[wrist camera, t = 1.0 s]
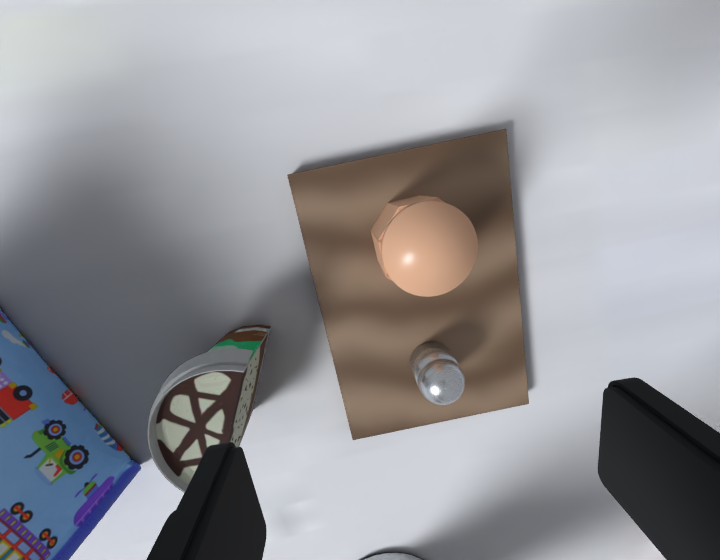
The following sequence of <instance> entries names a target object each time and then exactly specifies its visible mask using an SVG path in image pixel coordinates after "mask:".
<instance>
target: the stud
mask: <svg viewBox="0 0 720 560" xmlns="http://www.w3.org/2000/svg"><path fill="white" fill-rule="evenodd" d="M410 366H411V369H412V372H413V374H414V377H415V380H416V382H417V385H418V387H419V390H420V392H421V393H422V395H423V396H424V397H425V398H426V399H427V400H429V401H430V402H432V403H434V404H438V405H447V404H451V403H453V402H455V401H456V400H457V399H459V397H460V396H461V395H462V393H463V391H464V388H465V376H464V373H463V370H462V369H461V367H460V366H459V364H458V363H457V361H456V359H455V358H454V356H453V355H452V353H451V352H450V350H449V349H448V348H447V346H445V345H444V344H443V343H440V342H437V341H427V342H424V343H422V344H420V345H418V346H417V347H416V348H415V349H414V350H413V352H412V354H411V357H410Z"/></svg>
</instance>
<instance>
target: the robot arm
mask: <svg viewBox="0 0 720 560" xmlns="http://www.w3.org/2000/svg"><path fill="white" fill-rule="evenodd" d="M598 474H599V477H600V479H601V481H602V483H603V485H604V486H605V487H606V488H607V490H608V491H609V492H610V493H611V494H612V496H613V497H614V498H615V499H616V500H617V501H618V503H619V504H620V505H621V506H622V507H623V509H624V510H625V511H626V512H627V513H628V514H629V516H630V517H631V518H632V519H633V520H634V522H635V523H636V524H637V525H638V526H639V528H640V529H641V530H642V531H643V532H644V533H645V535H646V536H647V537H648V538H649V539H650V541H651V542H652V543H653V544H654V545H655V546H656V548H657V549H658V550H659V551H660V552H661V554H662V555H663V556H664V557H665V558H666V559H667V560H720V433H719V432H717V431H716V430H714V429H713V428H711V427H710V426H708V425H707V424H705V423H704V422H702V421H701V420H700V419H698V418H697V417H695V416H694V415H692V414H691V413H689V412H688V411H686V410H685V409H683V408H682V407H681V406H679V405H678V404H676V403H675V402H673V401H672V400H670V399H669V398H667V397H666V396H664V395H663V394H662V393H660V392H659V391H657V390H656V389H654V388H653V387H651V386H650V385H648V384H647V383H645V382H644V381H643V380H641V379H639V378H628V379H622V380H616V381H612V382H610V383H609V385H608V388H606V389H605V390H604V392H603V404H602V418H601V432H600V446H599V460H598ZM265 542H266V524H265V520H264V517H263V514H262V510H261V507H260V504H259V501H258V497H257V494H256V491H255V488H254V484H253V481H252V478H251V475H250V471H249V468H248V465H247V462H246V458H245V455H244V452H243V449H242V448H241V447H236V446H235V444H234V443H233V442H228V443H222V444H216V445H210V446H209V447H207V449H206V451H205V453H204V455H203V457H202V459H201V461H200V463H199V465H198V467H197V469H196V471H195V473H194V475H193V477H192V479H191V481H190V483H189V485H188V487H187V489H186V491H185V493H184V495H183V497H182V499H181V501H180V503H179V505H178V507H177V510H175V511H174V512H173V513H172V514H170V516H169V517H168V519H167V520H166V522H165V524H164V526H163V528H162V530H161V532H160V534H159V536H158V538H157V540H156V542H155V544H154V546H153V548H152V550H151V552H150V554H149V556H148V558H147V560H262V557H263V552H264V547H265ZM364 560H422V559H420V558H417V557H415V556H412V555H408V554H404V553H383V554H379V555H374V556H371V557H369V558H366V559H364Z"/></svg>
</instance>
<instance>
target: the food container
mask: <svg viewBox="0 0 720 560" xmlns="http://www.w3.org/2000/svg"><path fill="white" fill-rule="evenodd" d="M270 329H271V326H264V325H253V326H244V327H241V328H238V329H236V330H234V331H231V332H229V333H228V334H226V335H225V336H224V337H223V338H222V339H221V340H220V341H219V342H218V343H217V344H216V345H214V346H213V347H212V348H211V349H210V350H209V351H208V352H206V353H203V354H200V355H197V356H195V357H193V358H191V359H189V360H187V361H186V362H184V363H183V364H181V365H180V366H179V367H177V368H176V369H175V370H174V371H173V372H172V373H171V374H170V375H169V376H168V377H167V379H166V380H165V382H164V383H163V385H162V386H161V388H160V391H159V393H158V395H157V397H156V399H155V401H154V404H153V406H152V408H151V411H150V416H149V421H148V435H147V438H148V445H149V450H150V453H151V455H152V458H153V460H154V462H155V464H156V466H157V467H158V469H159V470H160V472H161V473H162V474H163V475H164V477H165V478H166V479H167V480H168V481H169V482H171V483H172V484H173V485H174V486H175V487H177V488H178V489H179V490H181V491H182V492H184V493H185V491H186V489H187V487H188V485H189V483H190V481H191V479H192V477H193V475H194V473H195V471H196V469H197V467H198V465H199V463H200V461H201V459H202V457H203V455H204V453H205V451H206V449H207V447H209V446H210V445H216V444H222V443H228V442H233V443H234V444H235V446H236V447H239V445H240V443H241V440H242V438H243V435H244V432H245V430H246V427H247V424H248V422H249V419H250V416H251V414H252V411H253V407H254V403H255V398H256V393H257V389H258V384H259V380H260V375H261V370H262V366H263V361H264V357H265V352H266V347H267V343H268V338H269V333H270Z"/></svg>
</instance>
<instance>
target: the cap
mask: <svg viewBox="0 0 720 560" xmlns="http://www.w3.org/2000/svg"><path fill="white" fill-rule="evenodd" d="M371 234H372V238H373V242H374V247H375V251H376V255H377V260H378V262H379V264H380V266H381V268H382V270H383V272H384V275H385V277H387V278H388V279H390V280H392V281H393V282H394V283H395V284H396V285H397V286H398V287H400V288H401V289H403V290H404V291H406V292H408V293H410V294H413V295H417V296H424V297H431V296H438V295H442V294H445V293H447V292H449V291H451V290H453V289H454V288H456V287H457V286H459V285H460V284H461V283H462V282H463V281H464V280H465V279H466V278H467V276H468V275H469V274H470V272H471V270H472V268H473V266H474V264H475V261H476V258H477V253H478V240H477V235H476V231H475V229H474V226H473V225H472V223H471V221H470V220H469V218H468V217H467V216H466V215H465V214H464V213H463V212H462V211H460V210H459V209H458V208H456V207H454V206H452V205H450V204H447V203H445V202H444V201H442V200H441V199H439V198H438V197H430V196H420V195H418V196H414V197H410V198H406V199H402V200H398V201H394V202H390V203H387V205H386V206H385V208H384V210H383V211H382V213H381V215H380V216H379V218H378V219H377V221H376V223H375V224H374V226H373V228H372V229H371Z"/></svg>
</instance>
